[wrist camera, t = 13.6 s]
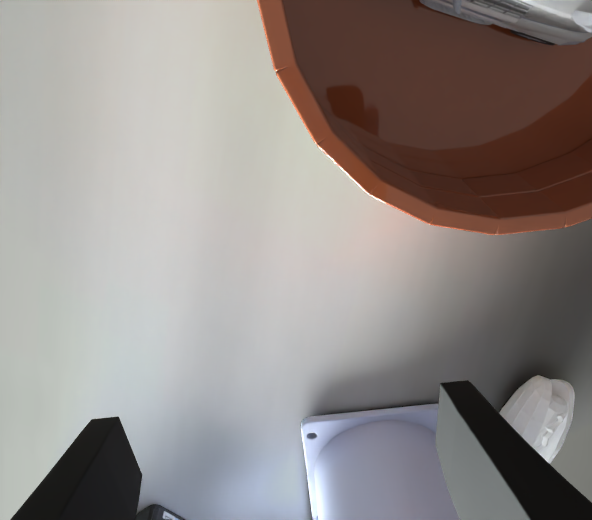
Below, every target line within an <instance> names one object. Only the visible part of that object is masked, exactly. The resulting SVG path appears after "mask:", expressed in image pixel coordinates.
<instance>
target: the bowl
mask: <svg viewBox="0 0 592 520" xmlns="http://www.w3.org/2000/svg"><path fill="white" fill-rule="evenodd" d="M257 2H258V6H259V11H260V15H261V19H262V23H263V27H264V31H265V35H266V39H267V43H268V47H269V51H270V55H271V59H272V63H273V67H274V70H275V71H276V75H277V77H278V79H279V80H280V82H281V84H282V86H283V88H284V89H285V91H286V93H287V95H288V96H289V98H290V100H291V102H292V104H293V105H294V107H295V109H296V111H297V112H298V114H299V116H300V118H301V120H302V121H303V123H304V125H305V127H306V128H307V130H308V132H309V134H310V136H311V137H312V139H313V141H314V143H316V144H317V146H318V147H319V148H320V149H321V150H322V151H323V152H324V153H325V154H326V155H327V156H328V157H329V158H330V159H331V160H332V161H333V162H334V163H335V164H336V165H337V166H338V167H339V168H341V169H342V170H343V171H344V172H345V173H346V174H347V175H348V176H349V177H350V178H351V179H352V180H353V181H354V182H355V183H356V184H357V185H358V186H359V187H360V188H361V189H363V190H364V191H365V192H366V193H367V194H369V195H370V196H371V197H373V198H376V199H378V200H380V201H382V202H384V203H386V204H388V205H390V206H392V207H394V208H396V209H398V210H400V211H402V212H404V213H406V214H408V215H410V216H412V217H414V218H416V219H418V220H420V221H422V222H425V223H427V224H430V225H434V226H441V227H447V228H453V229H459V230H465V231H472V232H478V233H484V234H490V235H502V234H512V233H522V232H531V231H541V230H550V229H560V228H564V227H569V226H572V225H575V224H578V223H581V222H583V221H586V220H589V219H592V37H591V38H589V39H587V40H586V41H585V42H581V43H579V44H576V45H558V44H555V45H547V44H543V43H539V42H536V41H532V40H529V39H526V38H523V37H520V36H518V35H515V34H513V33H511V32H510V30H511V29H508V28H503V27H500V26H498V25H495V24H491V25H484V24H478V23H474V22H471V21H467V20H464V19H461V18H458V17H455V16H452V15H449V14H446V13H443V12H440V11H437V10H434V9H431V8H429V7H427V6H426V5H424V4H422V3H421V2H420V0H257Z"/></svg>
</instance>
